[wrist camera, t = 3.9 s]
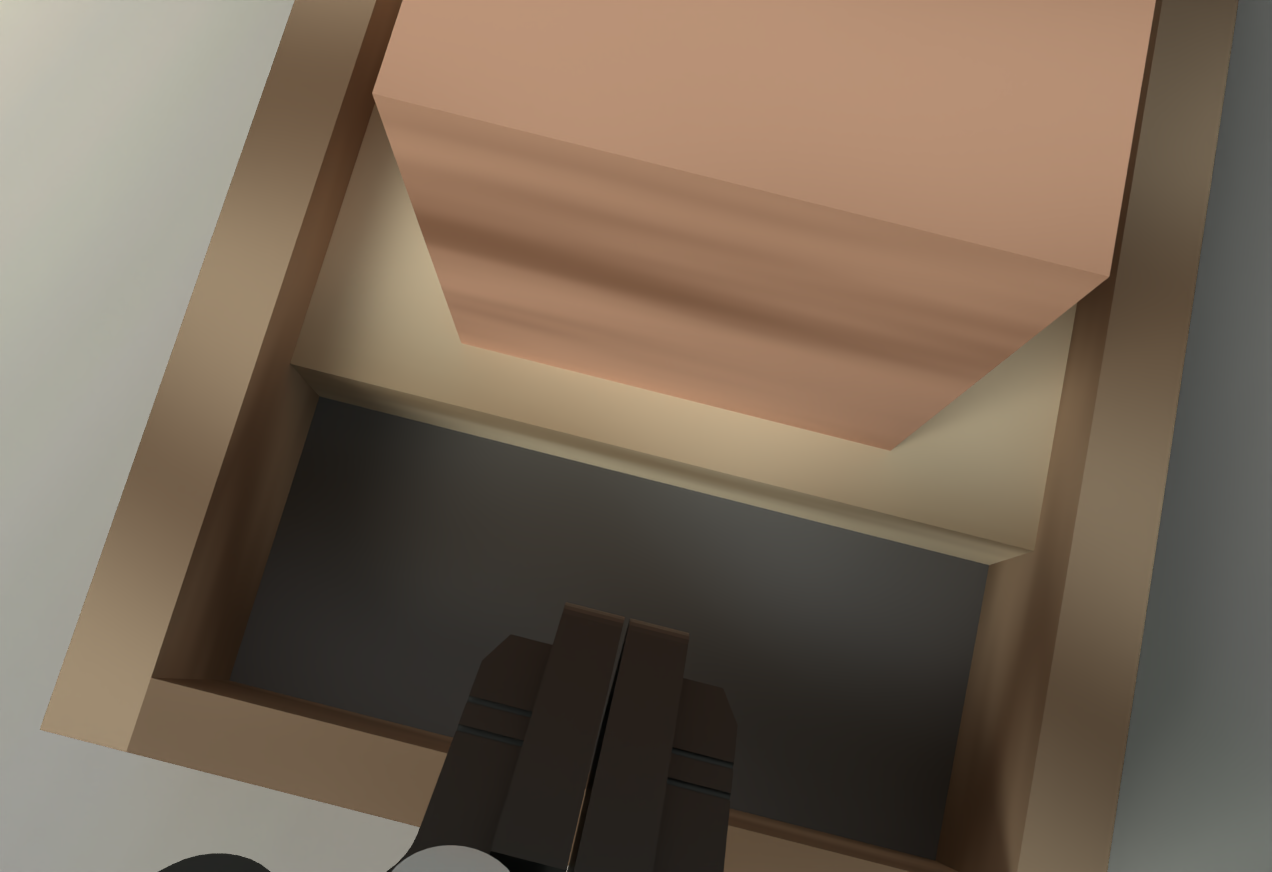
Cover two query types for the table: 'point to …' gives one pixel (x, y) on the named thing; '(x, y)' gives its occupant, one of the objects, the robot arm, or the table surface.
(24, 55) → the table surface
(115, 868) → the table surface
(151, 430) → the trough
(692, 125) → the block
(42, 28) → the table surface
